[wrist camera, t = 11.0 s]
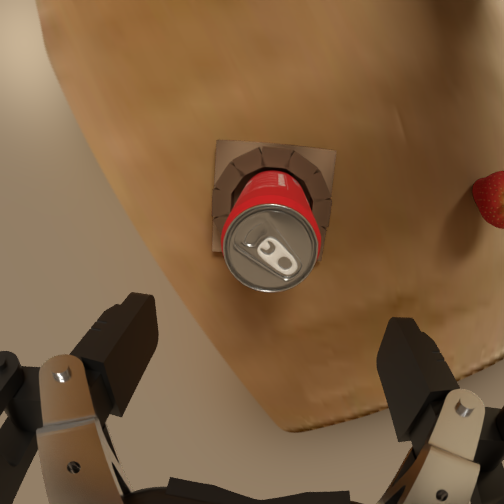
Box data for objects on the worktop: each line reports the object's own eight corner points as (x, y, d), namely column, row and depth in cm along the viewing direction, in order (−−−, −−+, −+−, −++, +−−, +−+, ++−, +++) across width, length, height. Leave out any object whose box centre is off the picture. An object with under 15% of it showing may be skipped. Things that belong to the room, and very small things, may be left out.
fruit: (501, 193, 25) (548, 214, 17) (471, 224, 27) (515, 253, 19) (481, 154, 24) (532, 167, 16) (450, 186, 25) (497, 207, 18)
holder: (334, 150, 25) (341, 152, 23) (319, 256, 29) (324, 270, 26) (218, 139, 26) (211, 140, 23) (214, 247, 30) (207, 259, 27)
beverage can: (272, 155, 25) (268, 175, 14) (316, 198, 26) (344, 250, 15) (230, 199, 27) (197, 251, 16) (273, 238, 28) (270, 314, 17)
